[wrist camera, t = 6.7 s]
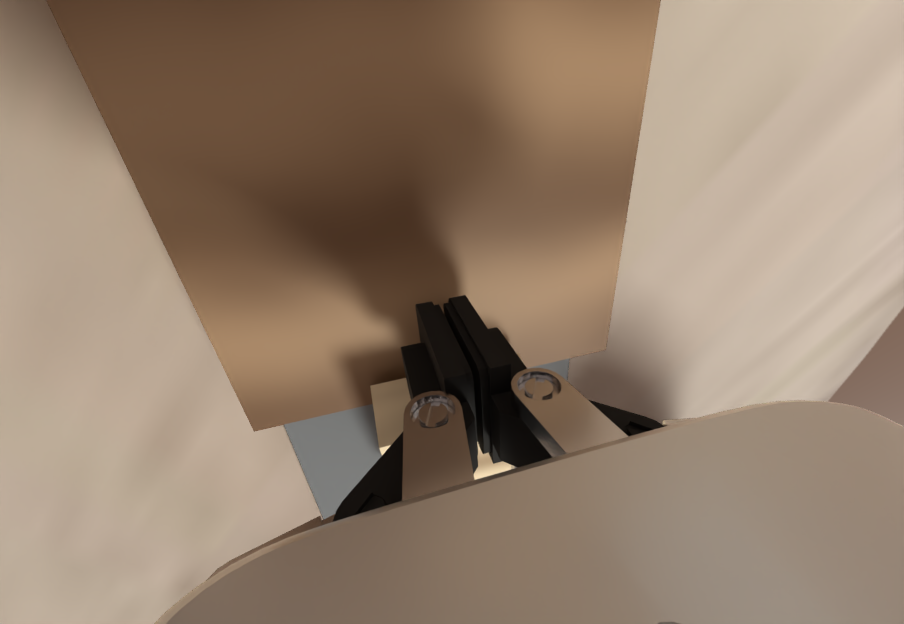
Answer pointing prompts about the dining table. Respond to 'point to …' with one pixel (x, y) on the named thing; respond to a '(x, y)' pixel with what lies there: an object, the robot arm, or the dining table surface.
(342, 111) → the tan flat square block
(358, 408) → the mat
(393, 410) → the cream rectangular block
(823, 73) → the dining table surface
